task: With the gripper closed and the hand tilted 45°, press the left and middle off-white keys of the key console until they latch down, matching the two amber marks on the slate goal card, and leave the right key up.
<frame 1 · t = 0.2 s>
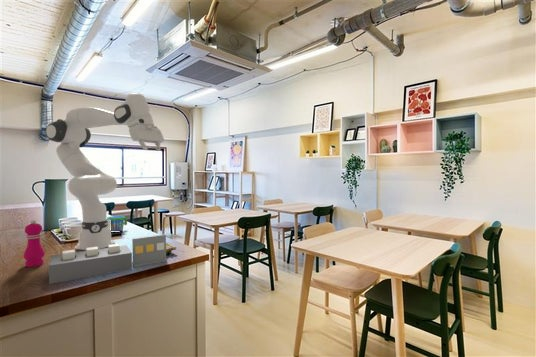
hand: (152, 150, 141), 52 cm above the countertop, tool tilted 20°, fingers open, 8 cm apart
key middle: (92, 253, 118), point 7 cm above the countertop, slide at 0.0 cm
pepper mill: (34, 265, 125), on the countertop
console: (92, 270, 118), on the countertop
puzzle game: (156, 253, 144), on the countertop
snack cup: (116, 232, 188), on the countertop
key right: (113, 250, 122), point 7 cm above the countertop, slide at 0.0 cm
goal card: (149, 262, 128), on the countertop
key left: (68, 257, 113), point 7 cm above the countertop, slide at 0.0 cm
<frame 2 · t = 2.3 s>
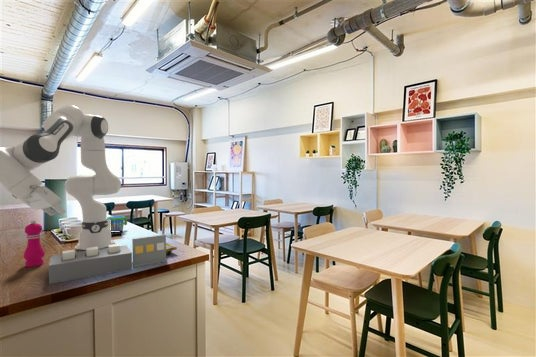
hand: (58, 213, 108), 25 cm above the countertop, tool tilted 40°, fingers open, 8 cm apart
nothing on the countertop moved.
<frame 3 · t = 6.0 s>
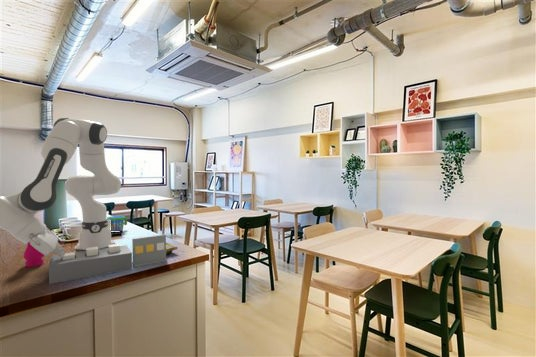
hand: (63, 253, 112), 9 cm above the countertop, tool tilted 45°, fingers closed, pressing on key left
key left: (68, 259, 113), point 6 cm above the countertop, slide at 1.1 cm, touching gripper
everything else where it was.
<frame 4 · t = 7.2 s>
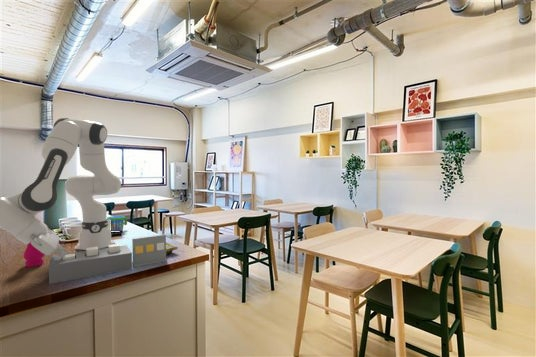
hand: (65, 253, 113), 9 cm above the countertop, tool tilted 45°, fingers closed
key left: (69, 261, 113), point 6 cm above the countertop, slide at 1.7 cm
everything else where it was.
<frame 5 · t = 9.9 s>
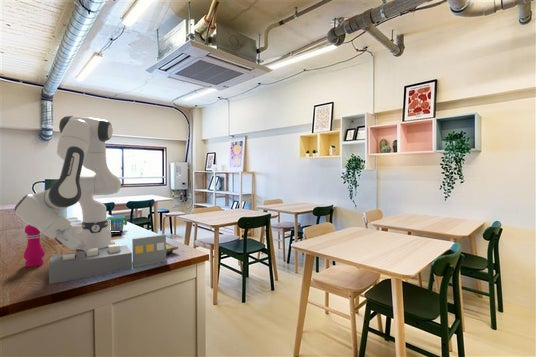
hand: (87, 249, 117), 9 cm above the countertop, tool tilted 45°, fingers closed, pressing on key middle
key middle: (92, 254, 118), point 7 cm above the countertop, slide at 0.6 cm, touching gripper
everything else where it was.
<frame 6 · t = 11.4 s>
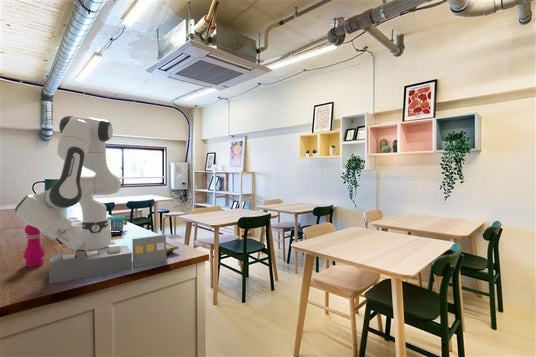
hand: (88, 249, 117), 9 cm above the countertop, tool tilted 45°, fingers closed
key middle: (92, 257, 118), point 6 cm above the countertop, slide at 1.7 cm
everything else where it was.
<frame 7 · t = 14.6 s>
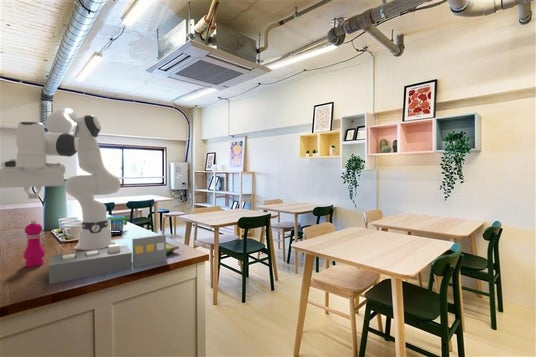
hand: (33, 198, 110), 31 cm above the countertop, tool pointing down, fingers closed
nothing on the countertop moved.
at the end: key left slide at 1.7 cm; key middle slide at 1.7 cm; key right slide at 0.0 cm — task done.
